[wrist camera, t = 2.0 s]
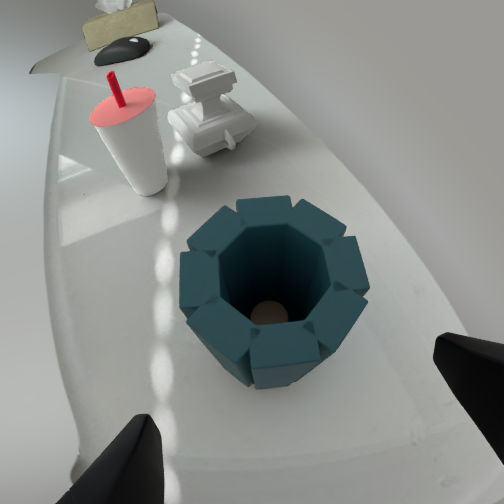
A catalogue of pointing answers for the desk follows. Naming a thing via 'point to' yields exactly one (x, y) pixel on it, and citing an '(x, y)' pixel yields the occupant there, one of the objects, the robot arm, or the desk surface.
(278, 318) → the dowel stand
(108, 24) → the tissue box
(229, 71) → the stamp
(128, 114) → the cup
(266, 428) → the desk surface
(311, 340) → the sleeve
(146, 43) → the computer mouse
